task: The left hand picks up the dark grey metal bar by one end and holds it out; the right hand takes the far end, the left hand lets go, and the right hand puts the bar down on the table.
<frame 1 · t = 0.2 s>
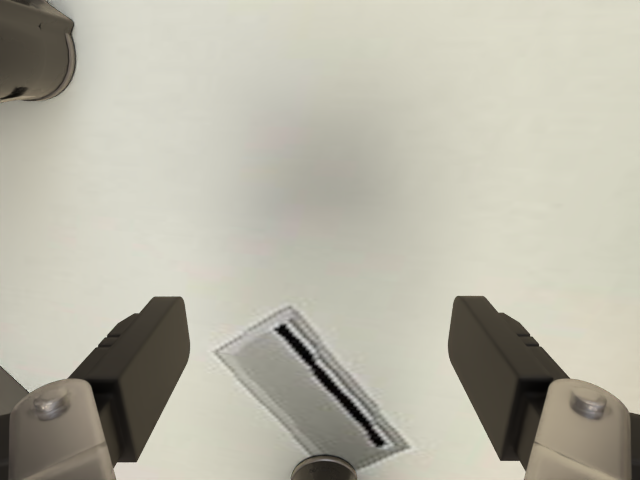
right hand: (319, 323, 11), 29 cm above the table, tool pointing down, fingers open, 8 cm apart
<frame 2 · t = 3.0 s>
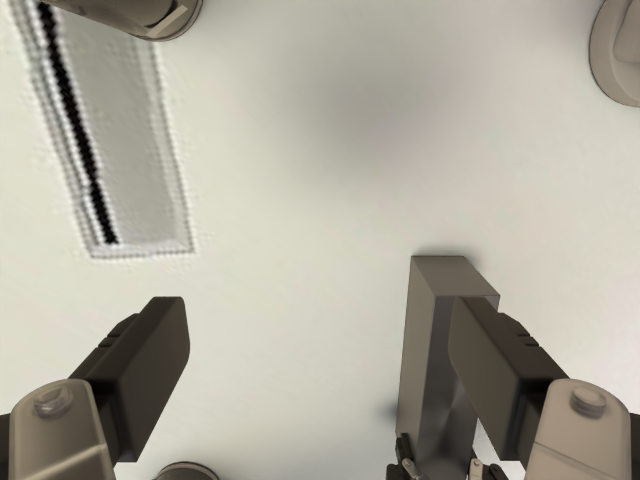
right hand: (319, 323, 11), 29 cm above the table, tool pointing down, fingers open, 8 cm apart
bar: (426, 352, 47), on the table, touching left hand
bust sculpture: (615, 43, 35), on the table
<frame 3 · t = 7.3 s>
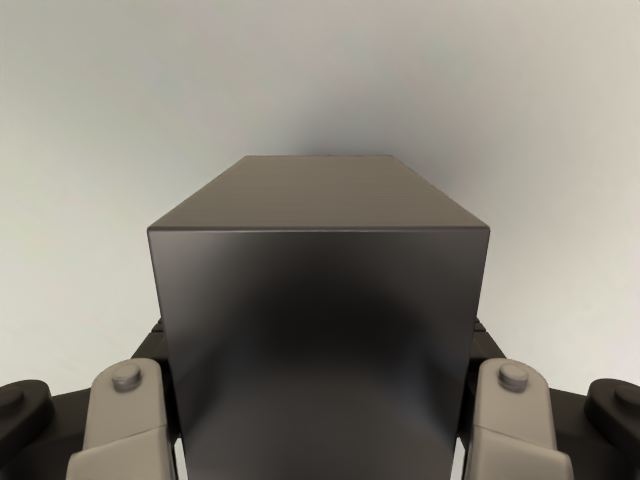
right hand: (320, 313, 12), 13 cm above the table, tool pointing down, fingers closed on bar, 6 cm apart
bar: (319, 410, 19), point 8 cm above the table, touching right hand, left hand
when the right hand's fingers open (6 cm above the table, at t = 15.4 s): bar stays where it is, on the table.
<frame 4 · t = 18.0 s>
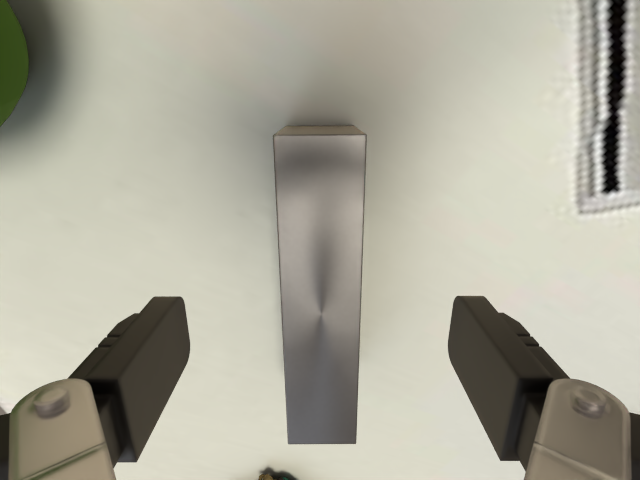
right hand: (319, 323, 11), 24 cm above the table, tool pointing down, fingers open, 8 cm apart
bar: (320, 264, 37), on the table
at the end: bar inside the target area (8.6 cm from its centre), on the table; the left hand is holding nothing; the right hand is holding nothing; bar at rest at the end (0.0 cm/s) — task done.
